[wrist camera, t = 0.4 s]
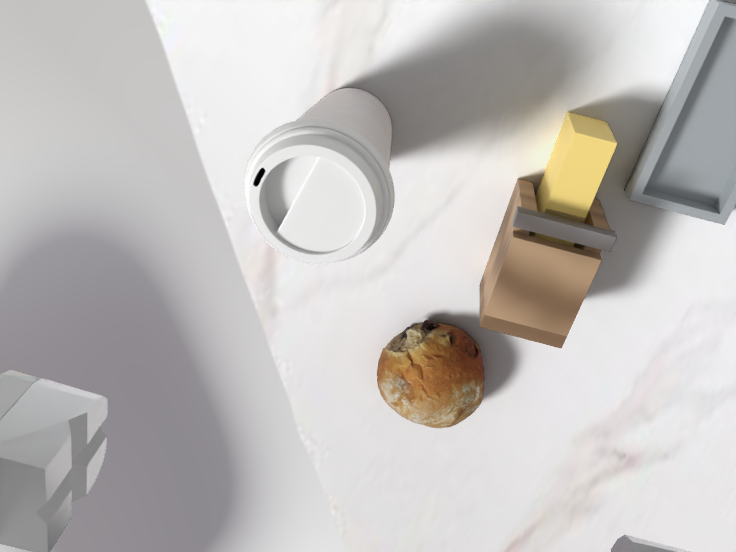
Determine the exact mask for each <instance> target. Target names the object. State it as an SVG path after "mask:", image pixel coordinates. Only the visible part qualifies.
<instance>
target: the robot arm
mask: <svg viewBox="0 0 736 552" xmlns="http://www.w3.org/2000/svg"><path fill="white" fill-rule="evenodd" d="M106 417H107V399H106V398H105V397H103V396H100V395H97V394H94V393H90V392H87V391H83V390H80V389H77V388H73V387H70V386H67V385H63V384H60V383H57V382H53V381H50V380H46V379H43V378H42V379H41V378H37V377H34V376H31V375H27V374H24V373H20V372H17V371H14V370H9V371H7V372H5V373H3V374H1V375H0V544H3V545H7V546H11V547H15V548H20V549H24V550H28V551H33V552H50V551H51V550H52V548H53V547H54V545H55V544H56V542H57V540H58V539H59V537H60V536H61V534H62V533H63V531H64V530H65V528H66V526H67V525H68V523H69V522H70V520H71V512H72V511H71V510H72V502H74V501H76V500H78V499H80V498H82V497H84V496H86V495H87V493H88V492H89V490H90V488H91V487H92V485H93V484H94V482H95V480H96V478H97V475H98V473H99V471H100V468H101V466H102V463H103V460H104V455H105V451H106V442H107V436H106V434H105V433H104V432H103V430H102V429H101V427H100V425H101V424H102V422H103V421H104V419H105V418H106ZM611 552H687V551H686V550H682V549H679V548H675V547H671V546H667V545H663V544H659V543H655V542H651V541H647V540H643V539H639V538H636V537H632V536H628V535H624V536H622V537H620V538H619V539H617V541H616V543H615V544H614V546H613V547H612V549H611Z"/></svg>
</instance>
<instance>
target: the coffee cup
mask: <svg viewBox="0 0 736 552" xmlns="http://www.w3.org/2000/svg"><path fill="white" fill-rule="evenodd" d="M391 141H392V123H391V119H390V116H389V113H388V111H387V109H386V108H385V106H384V105H383V104H382V103H381V101H380V100H379V99H377V98H376V97H375V96H374V95H372V94H370V93H369V92H366V91H364V90H361V89H357V88H342V89H338V90H335V91H332V92H330V93H329V94H327V95H326V96H324V97H323V98H322V99H321V100H320V101H319V102H317V103H316V104H315V105H314V106H313V107H312V108H310V109H309V110H308V111H307V112H306V113H304V114H303V115H302V116H301V117H300V118H299V119H297V120H296V121H293V122H290V123H287V124H284V125H282V126H280V127H278V128H276V129H275V130H273V131H271V132H270V133H269V134H267V135H266V136H265V137H264V138H263V139H262V140H261V141H260V142H259V143H258V145H257V146H256V147H255V149H254V151H253V152H252V154H251V156H250V158H249V161H248V164H247V167H246V172H245V181H244V193H245V200H246V204H247V208H248V211H249V214H250V216H251V218H252V220H253V222H254V224H255V226H256V228H257V230H258V232H259V233H260V234H261V236H262V237H263V238H264V239H265V241H266V242H267V243H268V244H269V245H270V246H272V247H273V248H274V249H275V250H277V251H278V252H280V253H281V254H283V255H285V256H287V257H289V258H291V259H293V260H296V261H299V262H303V263H308V264H330V263H335V262H340V261H344V260H347V259H350V258H352V257H354V256H356V255H358V254H360V253H362V252H364V251H365V250H366V249H368V248H369V247H370V246H371V245H372V244H373V243H375V242H376V241H377V240H378V239H379V237H380V236H381V235H382V234H383V232H384V231H385V229H386V227H387V225H388V223H389V221H390V219H391V216H392V212H393V207H394V186H393V181H392V177H391V174H390V171H389V165H390V153H391Z"/></svg>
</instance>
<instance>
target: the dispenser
mask: <svg viewBox="0 0 736 552" xmlns="http://www.w3.org/2000/svg"><path fill="white" fill-rule="evenodd" d="M530 231H531V232H535V233H539V234H543V235H547V236H551V237H554V238H558V239H562V240H566V241H570V242H574V243H575V244H574V246H573V247H572V246H568V245H564V244H560V243H556V242H552V241H549V240H545V239H541V238H537V237H533V236H529V233H530ZM616 238H617V237H616V234H615V232H614V231H611V230H610V228H609V225H608V222H607V220H606V217H605V214H604V212H603V209H602V206H601V203H600V201H599V199H595V198H594V200H593V202H592V204H591V207H590V209H589V211H588V214H587V216H586V218H585V221H584V223H580V222H576V221H573V220H569V219H565V218H561V217H557V216H553V215H550V214H546V213H542V212H538V210H537V204H536V199H535V193H534V187H533V182H529V181H526V180H522V179H518V180H517V183H516V185H515V188H514V191H513V194H512V197H511V199H510V202H509V205H508V208H507V210H506V213H505V216H504V219H503V222H502V224H501V227H500V230H499V233H498V236H497V238H496V241H495V244H494V247H493V249H492V252H491V255H490V258H489V261H488V263H487V266H486V269H485V272H484V275H483V277H482V280H481V283H480V327H482V328H485V329H489V330H493V331H497V332H501V333H504V334H508V335H512V336H516V337H520V338H523V339H527V340H531V341H535V342H539V343H543V344H546V345H550V346H554V347H558V348H562V346H563V344H564V342H565V339H566V337H567V335H568V333H569V331H570V328H571V326H572V324H573V322H574V320H575V318H576V315H577V313H578V311H579V309H580V307H581V304H582V302H583V300H584V298H585V296H586V294H587V291H588V289H589V287H590V285H591V283H592V281H593V278H594V276H595V274H596V272H597V270H598V267H599V265H600V263H601V261H602V260H601V256H600V252H601V250H604V251H608V252H610V251H611V249H612V247H613V245H614V243H615V240H616Z"/></svg>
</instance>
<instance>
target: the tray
mask: <svg viewBox="0 0 736 552" xmlns="http://www.w3.org/2000/svg"><path fill="white" fill-rule="evenodd" d="M624 190H625V192H626V195H627V197H628V199H629V200H631V201H635V202H639V203H642V204H646V205H650V206H654V207H658V208H662V209H665V210H669V211H673V212H677V213H681V214H685V215H688V216H692V217H696V218H700V219H704V220H708V221H712V222H715V223H719V224H723V225H725V223H726V221H727V219H728V218H729V216H730V214H731V212H732V210H733V208H734V207H735V205H736V4H733V3H729V2H725V1H721V0H710V1H709V3H708V5H707V7H706V10H705V12H704V14H703V16H702V18H701V21H700V23H699V25H698V27H697V29H696V32H695V34H694V36H693V38H692V41H691V43H690V45H689V47H688V49H687V52H686V54H685V56H684V58H683V61H682V63H681V65H680V67H679V69H678V72H677V74H676V76H675V78H674V80H673V83H672V85H671V87H670V89H669V92H668V94H667V96H666V98H665V100H664V103H663V105H662V107H661V109H660V112H659V114H658V116H657V118H656V120H655V123H654V125H653V127H652V129H651V132H650V134H649V136H648V138H647V140H646V143H645V145H644V147H643V149H642V151H641V154H640V156H639V158H638V160H637V163H636V165H635V167H634V169H633V171H632V174H631V176H630V178H629V180H628V183H627V185H626V187H625V189H624Z"/></svg>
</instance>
